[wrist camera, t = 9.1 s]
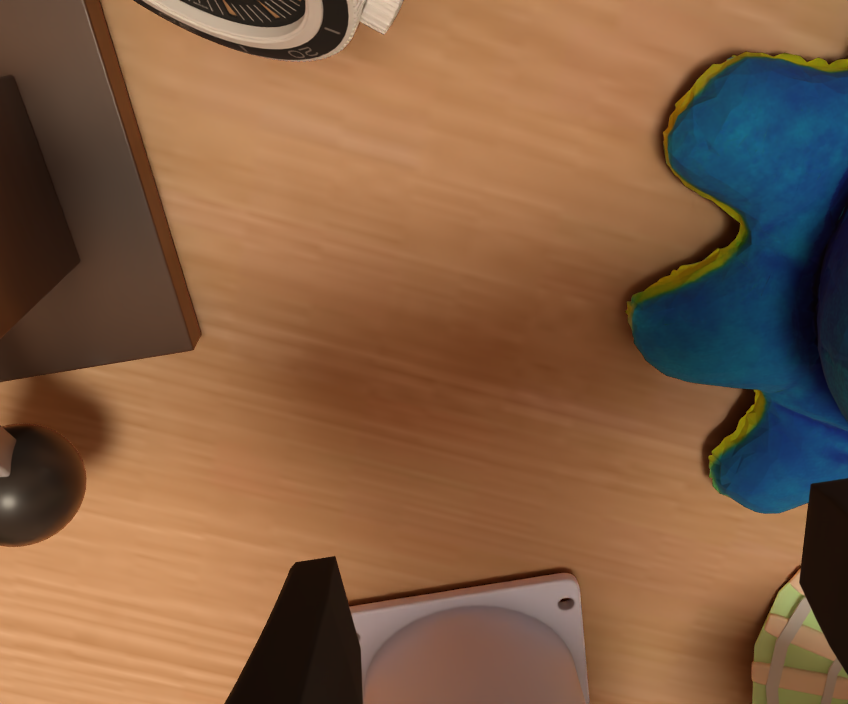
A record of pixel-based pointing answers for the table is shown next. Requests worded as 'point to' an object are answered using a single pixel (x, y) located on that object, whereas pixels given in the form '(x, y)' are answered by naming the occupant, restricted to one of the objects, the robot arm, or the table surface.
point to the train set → (795, 655)
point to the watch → (278, 23)
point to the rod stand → (78, 204)
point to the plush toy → (764, 271)
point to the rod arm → (37, 483)
